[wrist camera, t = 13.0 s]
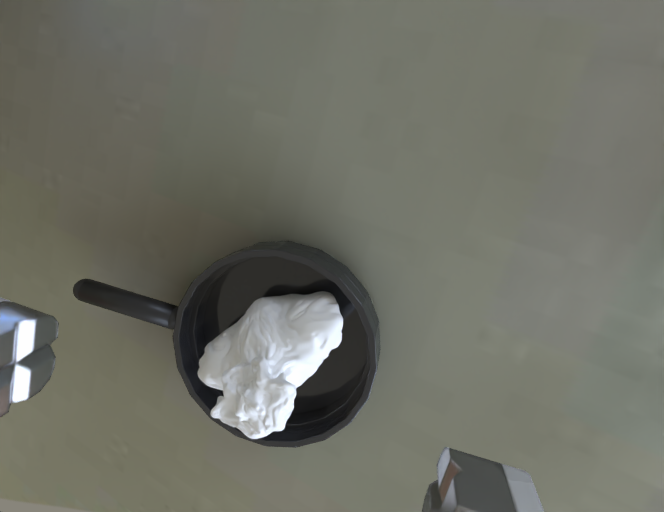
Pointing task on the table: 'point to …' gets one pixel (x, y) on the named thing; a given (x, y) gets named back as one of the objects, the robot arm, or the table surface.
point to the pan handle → (126, 302)
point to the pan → (277, 280)
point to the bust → (269, 359)
